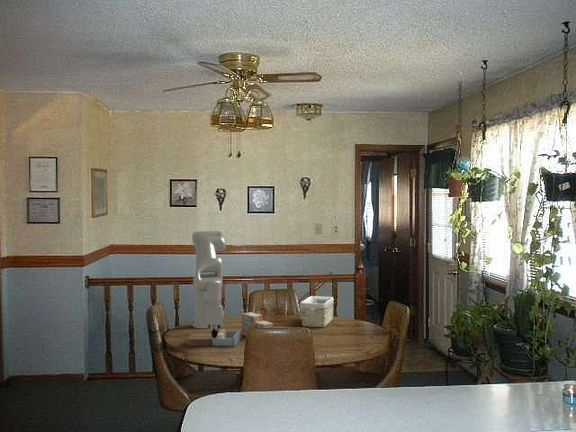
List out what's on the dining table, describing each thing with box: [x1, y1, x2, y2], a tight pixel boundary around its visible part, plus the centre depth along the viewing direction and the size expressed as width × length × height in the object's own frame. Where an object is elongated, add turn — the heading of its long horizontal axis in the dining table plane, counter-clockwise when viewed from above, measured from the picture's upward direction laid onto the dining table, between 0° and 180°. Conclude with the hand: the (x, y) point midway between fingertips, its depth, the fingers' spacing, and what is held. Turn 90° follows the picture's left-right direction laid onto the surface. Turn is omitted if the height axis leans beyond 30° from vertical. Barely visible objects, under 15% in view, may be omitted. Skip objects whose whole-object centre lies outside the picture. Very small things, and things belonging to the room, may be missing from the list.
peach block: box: [218, 328, 227, 339], centre depth 325 cm, size 5×5×2 cm
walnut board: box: [184, 332, 213, 347], centre depth 323 cm, size 16×14×3 cm
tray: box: [211, 328, 242, 348], centre depth 321 cm, size 18×12×5 cm, turn 173°
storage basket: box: [299, 295, 335, 328], centre depth 366 cm, size 24×16×15 cm
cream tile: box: [217, 332, 224, 339], centre depth 317 cm, size 5×5×2 cm
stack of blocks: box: [241, 311, 274, 337], centre depth 332 cm, size 21×6×12 cm, turn 39°
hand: (214, 337), depth 318 cm, fingers closed
